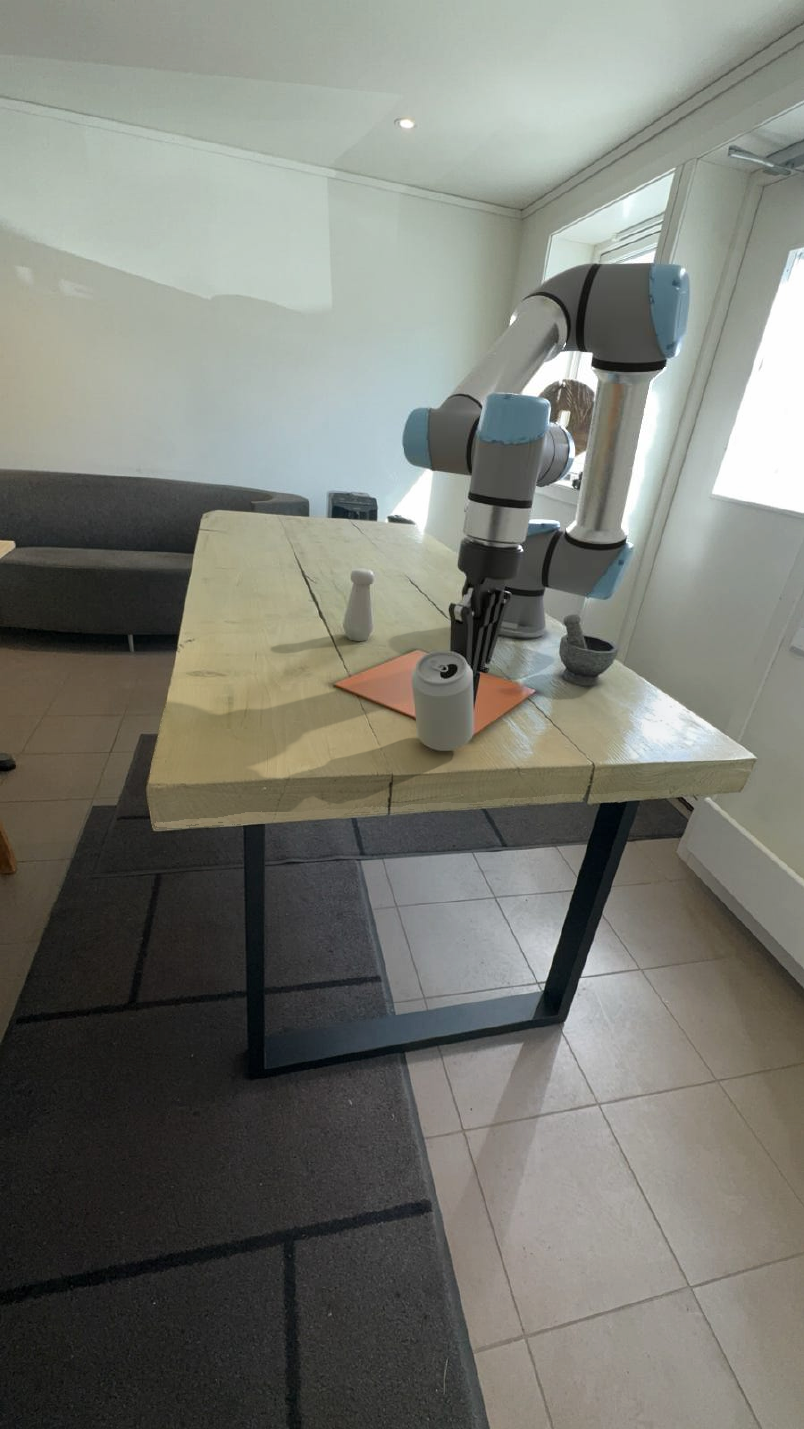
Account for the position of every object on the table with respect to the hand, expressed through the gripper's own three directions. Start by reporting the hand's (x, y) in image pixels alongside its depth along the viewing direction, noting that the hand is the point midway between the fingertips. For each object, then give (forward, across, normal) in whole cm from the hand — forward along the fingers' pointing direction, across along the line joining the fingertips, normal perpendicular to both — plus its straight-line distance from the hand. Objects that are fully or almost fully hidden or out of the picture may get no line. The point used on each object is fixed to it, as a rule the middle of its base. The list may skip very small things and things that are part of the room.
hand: (461, 715), depth 81 cm
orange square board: (+3, -11, -10) cm, 15 cm away
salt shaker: (+3, -20, -34) cm, 39 cm away
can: (+2, +4, 0) cm, 4 cm away
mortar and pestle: (+3, -35, +5) cm, 36 cm away
